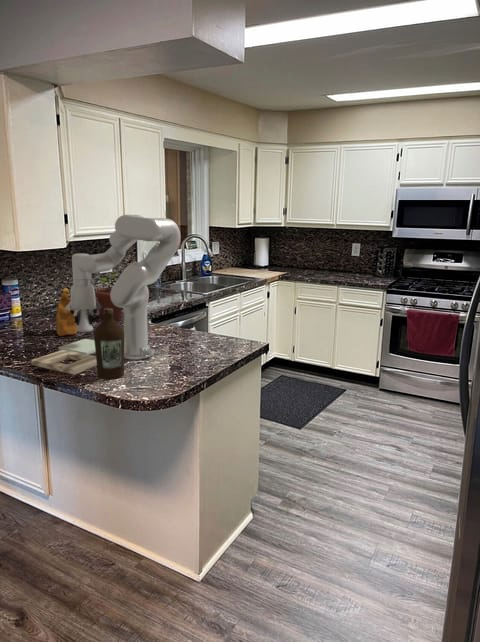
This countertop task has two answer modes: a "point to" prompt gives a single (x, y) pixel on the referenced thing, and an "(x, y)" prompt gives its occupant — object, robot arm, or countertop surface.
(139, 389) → the countertop surface
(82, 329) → the flask
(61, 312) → the coffee package
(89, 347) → the sage tile
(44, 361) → the tan flat rectangular frame
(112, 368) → the olive oil
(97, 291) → the potted plant
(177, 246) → the robot arm
